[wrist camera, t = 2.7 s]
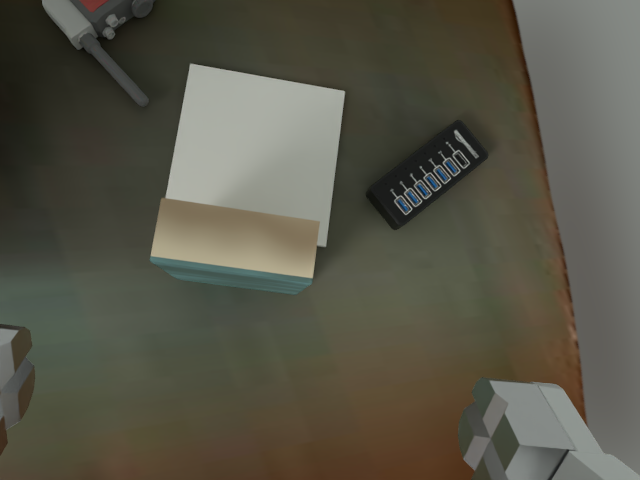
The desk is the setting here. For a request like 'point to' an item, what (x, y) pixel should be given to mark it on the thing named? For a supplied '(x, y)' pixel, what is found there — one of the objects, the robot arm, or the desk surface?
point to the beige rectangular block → (234, 247)
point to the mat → (257, 145)
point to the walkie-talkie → (99, 30)
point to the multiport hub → (426, 174)
